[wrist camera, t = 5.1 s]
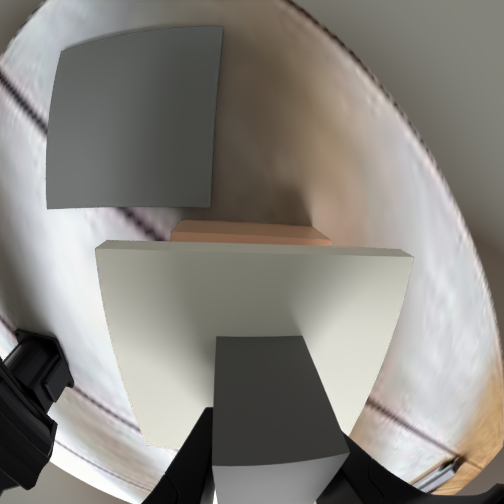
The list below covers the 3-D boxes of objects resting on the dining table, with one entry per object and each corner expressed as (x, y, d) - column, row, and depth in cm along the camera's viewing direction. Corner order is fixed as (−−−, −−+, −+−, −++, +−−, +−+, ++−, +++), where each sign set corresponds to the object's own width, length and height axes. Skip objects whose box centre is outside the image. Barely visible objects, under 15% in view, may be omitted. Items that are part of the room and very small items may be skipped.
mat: (51, 207, 17) (47, 209, 16) (64, 53, 13) (61, 51, 12) (210, 206, 18) (210, 207, 17) (223, 30, 14) (223, 26, 13)
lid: (149, 432, 12) (133, 520, 6) (106, 240, 9) (-7, 329, 3) (341, 428, 13) (372, 507, 7) (399, 249, 10) (513, 321, 4)
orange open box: (185, 330, 21) (177, 361, 17) (183, 218, 18) (171, 231, 14) (295, 333, 22) (306, 363, 18) (311, 225, 19) (330, 240, 15)
